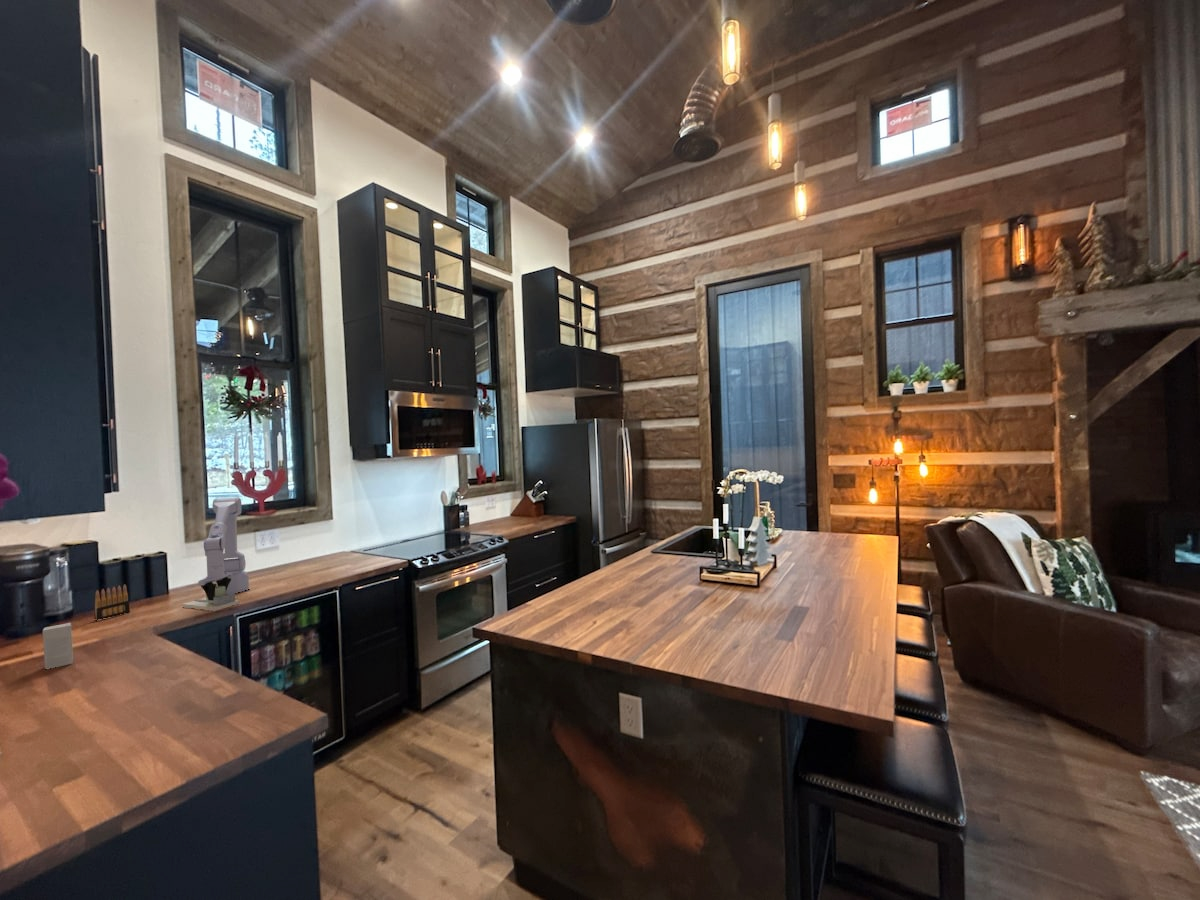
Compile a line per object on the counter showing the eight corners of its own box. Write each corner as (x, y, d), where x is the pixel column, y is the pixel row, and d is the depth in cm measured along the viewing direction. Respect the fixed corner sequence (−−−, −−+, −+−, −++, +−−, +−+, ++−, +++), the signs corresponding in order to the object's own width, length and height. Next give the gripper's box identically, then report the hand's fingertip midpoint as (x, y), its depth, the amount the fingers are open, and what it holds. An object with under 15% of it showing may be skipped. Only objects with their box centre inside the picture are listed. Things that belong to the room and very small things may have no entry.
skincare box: (73, 660, 162) (71, 622, 162) (73, 663, 159) (71, 625, 159) (45, 666, 158) (43, 627, 158) (44, 670, 155) (42, 630, 155)
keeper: (216, 599, 219) (215, 585, 219) (225, 600, 217) (225, 586, 217) (206, 602, 216) (205, 588, 216) (215, 603, 214) (215, 588, 214)
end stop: (231, 600, 218) (230, 592, 218) (235, 601, 217) (234, 593, 217) (213, 605, 212) (213, 597, 212) (217, 606, 211) (217, 597, 211)
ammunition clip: (96, 621, 202) (95, 590, 202) (94, 621, 203) (92, 590, 203) (130, 612, 212) (128, 583, 212) (127, 612, 213) (126, 583, 213)
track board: (207, 600, 226) (207, 596, 226) (239, 603, 219) (239, 599, 219) (182, 607, 217) (182, 603, 217) (214, 611, 209) (214, 606, 209)
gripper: (221, 561, 224) (223, 593, 224) (191, 570, 210) (192, 603, 210) (236, 561, 223) (237, 593, 223) (206, 569, 209) (208, 603, 209)
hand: (216, 598), depth 216 cm, fingers closed on keeper, 5 cm apart
